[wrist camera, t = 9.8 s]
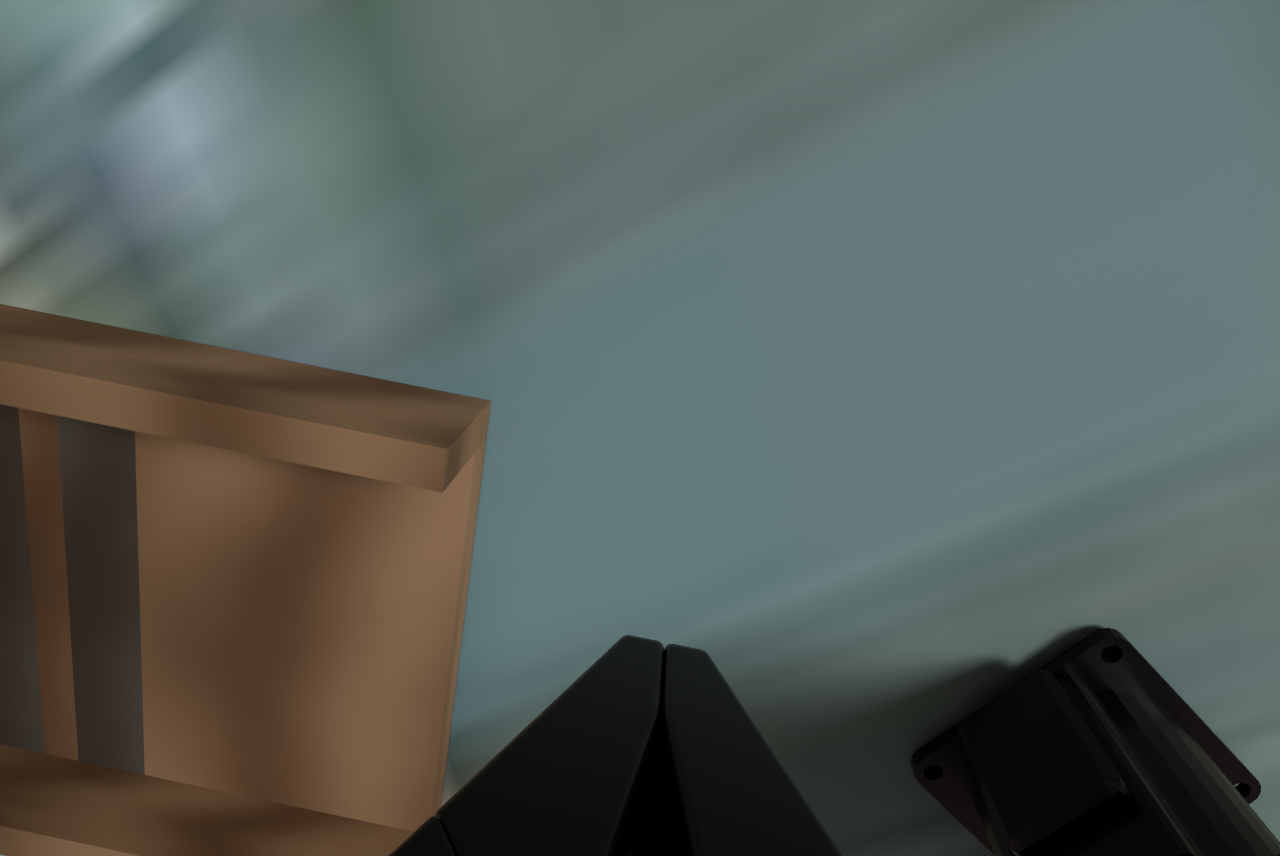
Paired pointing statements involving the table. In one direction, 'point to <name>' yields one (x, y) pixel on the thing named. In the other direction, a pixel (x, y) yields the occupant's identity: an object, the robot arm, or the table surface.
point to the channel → (223, 596)
